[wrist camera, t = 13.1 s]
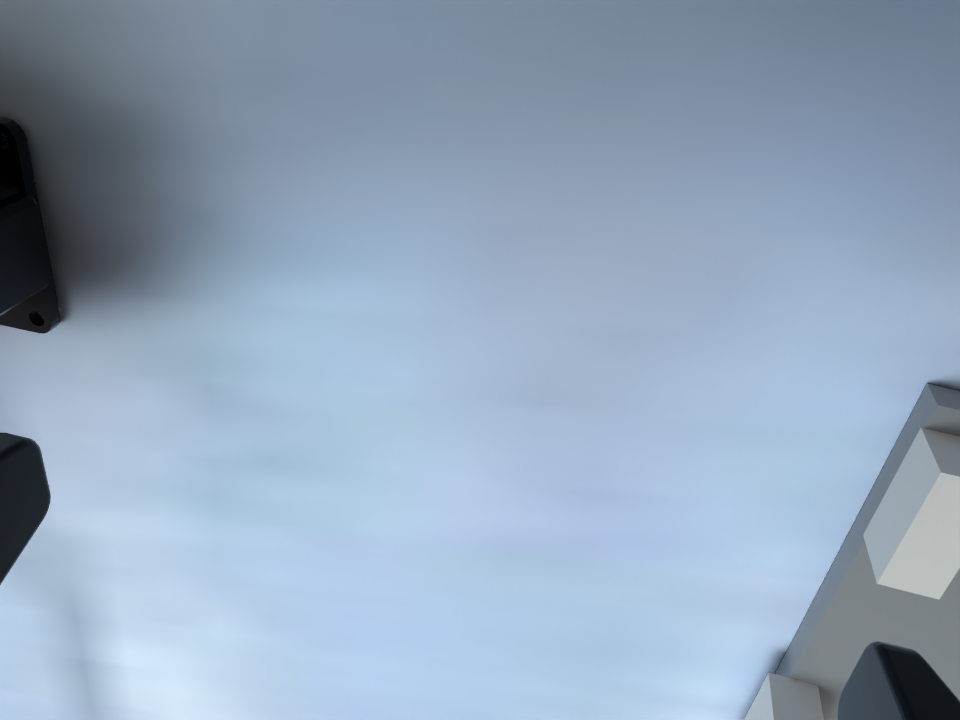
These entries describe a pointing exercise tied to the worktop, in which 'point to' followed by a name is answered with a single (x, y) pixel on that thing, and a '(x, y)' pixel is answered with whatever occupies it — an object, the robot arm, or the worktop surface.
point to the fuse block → (885, 574)
